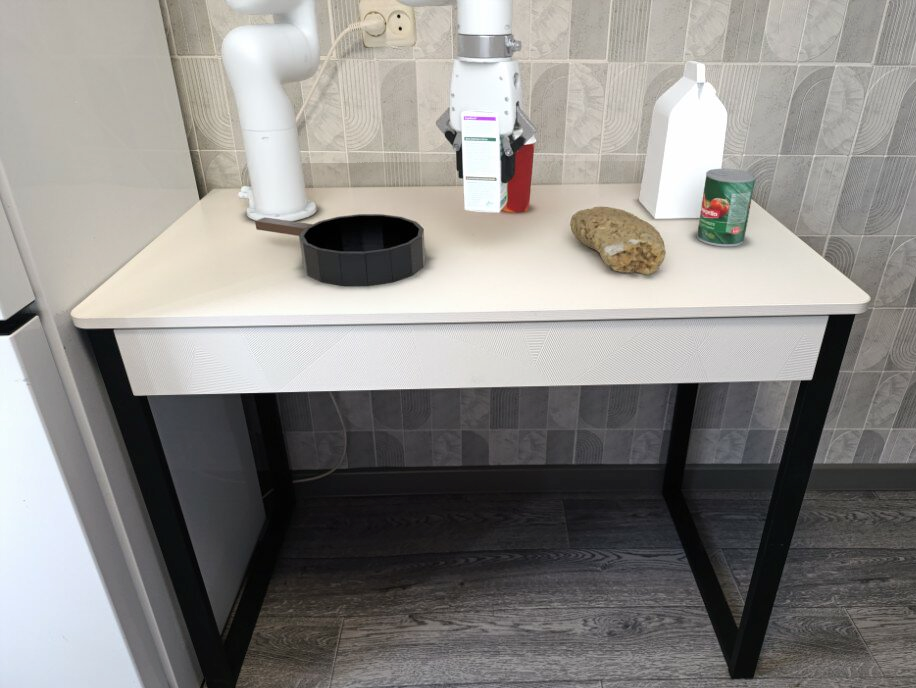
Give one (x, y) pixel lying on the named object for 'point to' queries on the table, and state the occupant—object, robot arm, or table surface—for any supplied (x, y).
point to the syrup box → (482, 162)
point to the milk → (683, 146)
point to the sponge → (620, 239)
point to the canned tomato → (725, 207)
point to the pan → (356, 247)
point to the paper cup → (521, 178)
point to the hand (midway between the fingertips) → (485, 177)
